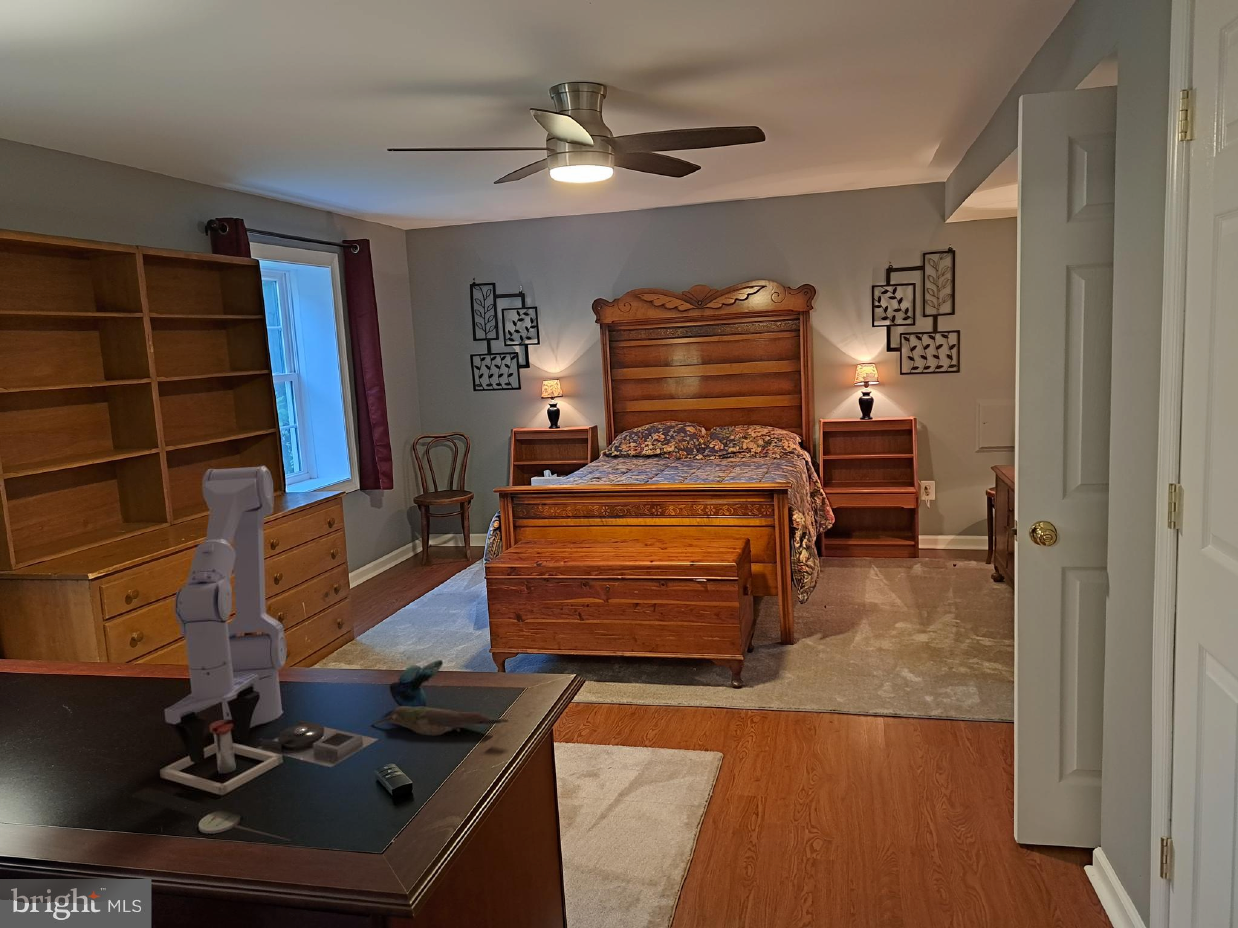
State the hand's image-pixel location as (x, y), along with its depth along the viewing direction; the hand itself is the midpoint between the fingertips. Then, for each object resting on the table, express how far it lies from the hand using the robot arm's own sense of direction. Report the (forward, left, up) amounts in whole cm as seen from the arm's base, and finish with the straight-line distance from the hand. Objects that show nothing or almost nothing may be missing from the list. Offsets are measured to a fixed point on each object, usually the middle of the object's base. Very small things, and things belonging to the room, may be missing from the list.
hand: (220, 750), depth 130 cm
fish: (+13, +29, -4) cm, 32 cm away
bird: (+21, +23, -4) cm, 32 cm away
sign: (+16, -9, -5) cm, 19 cm away
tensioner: (+7, +12, -4) cm, 15 cm away
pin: (+1, 0, -4) cm, 4 cm away
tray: (0, 0, -4) cm, 4 cm away
